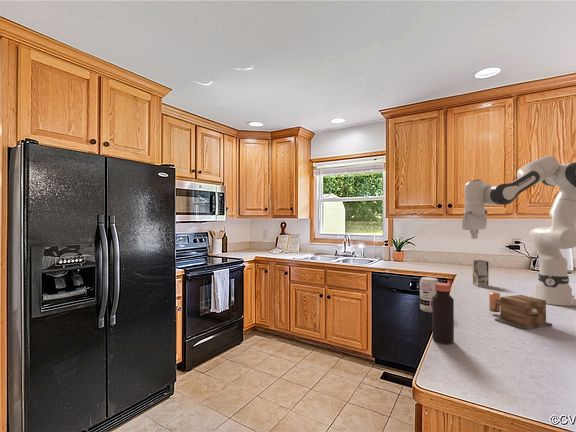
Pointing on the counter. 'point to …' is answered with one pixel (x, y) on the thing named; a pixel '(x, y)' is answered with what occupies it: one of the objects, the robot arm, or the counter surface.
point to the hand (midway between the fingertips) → (474, 238)
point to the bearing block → (522, 312)
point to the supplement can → (427, 293)
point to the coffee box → (480, 273)
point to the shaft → (495, 303)
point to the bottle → (443, 314)
